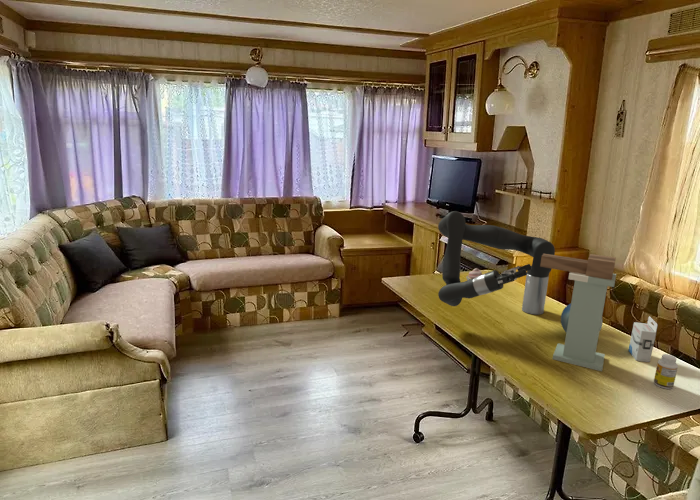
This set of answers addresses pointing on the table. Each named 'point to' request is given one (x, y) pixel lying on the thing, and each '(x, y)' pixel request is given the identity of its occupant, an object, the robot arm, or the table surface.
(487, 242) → the robot arm
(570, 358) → the stand
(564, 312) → the decorative ball
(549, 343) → the table surface
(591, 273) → the walnut block
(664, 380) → the supplement bottle
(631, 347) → the ink box
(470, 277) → the cupcake
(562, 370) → the table surface
